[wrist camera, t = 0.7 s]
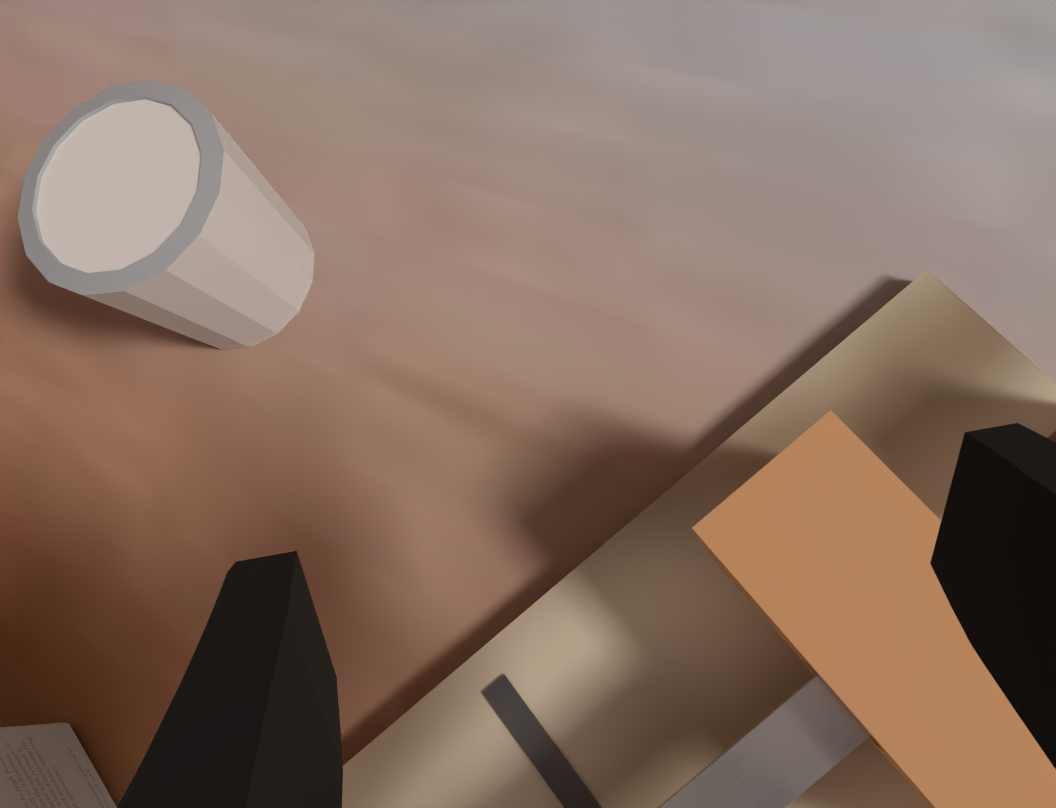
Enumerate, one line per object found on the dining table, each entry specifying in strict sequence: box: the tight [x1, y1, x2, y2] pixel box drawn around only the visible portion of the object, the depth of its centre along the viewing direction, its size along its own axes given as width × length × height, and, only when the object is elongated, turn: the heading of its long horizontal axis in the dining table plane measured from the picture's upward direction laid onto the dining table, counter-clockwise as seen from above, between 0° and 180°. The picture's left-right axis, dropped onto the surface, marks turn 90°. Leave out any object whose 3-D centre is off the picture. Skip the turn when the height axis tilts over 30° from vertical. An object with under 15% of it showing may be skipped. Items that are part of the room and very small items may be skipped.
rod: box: [657, 674, 871, 808], centre depth 22 cm, size 2×22×2 cm, turn 129°
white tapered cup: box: [17, 80, 315, 350], centre depth 31 cm, size 7×7×7 cm
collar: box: [692, 410, 1056, 808], centre depth 22 cm, size 10×4×5 cm, turn 39°
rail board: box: [342, 270, 1056, 808], centre depth 23 cm, size 14×24×5 cm, turn 129°
